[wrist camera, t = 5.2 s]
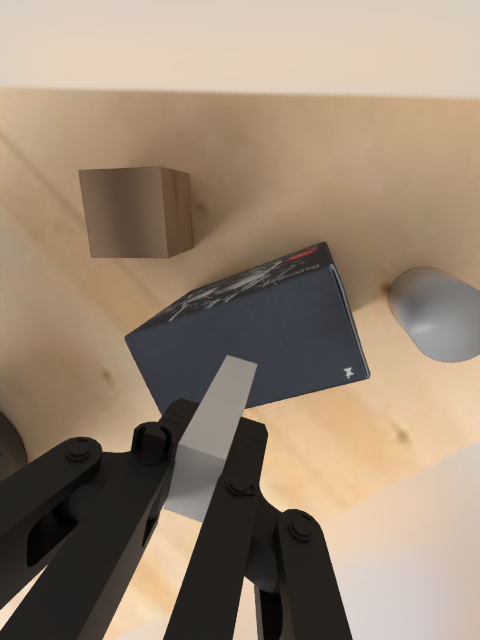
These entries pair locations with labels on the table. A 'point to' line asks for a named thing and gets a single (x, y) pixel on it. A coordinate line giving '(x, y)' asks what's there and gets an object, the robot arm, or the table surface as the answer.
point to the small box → (255, 333)
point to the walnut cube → (137, 212)
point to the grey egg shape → (437, 313)
